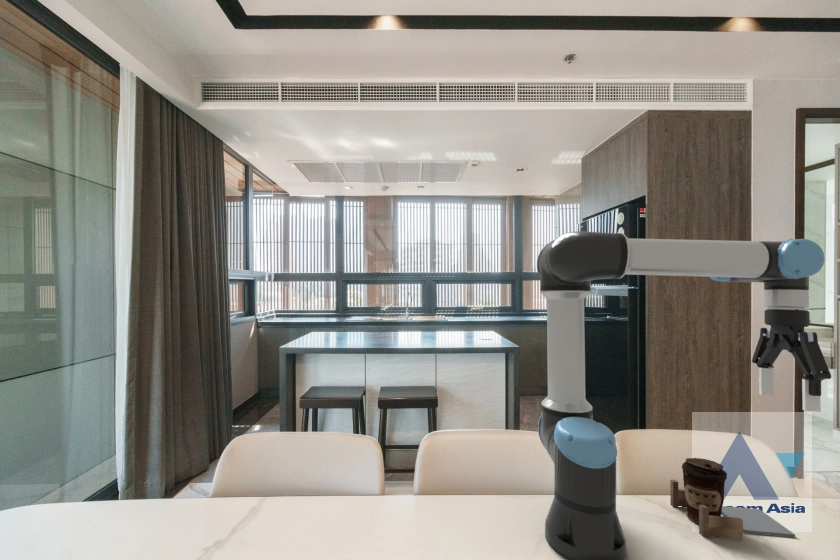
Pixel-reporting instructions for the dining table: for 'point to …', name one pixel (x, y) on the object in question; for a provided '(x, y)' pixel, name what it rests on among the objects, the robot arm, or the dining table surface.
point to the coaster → (757, 521)
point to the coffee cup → (703, 486)
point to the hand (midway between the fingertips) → (787, 402)
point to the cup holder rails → (709, 518)
